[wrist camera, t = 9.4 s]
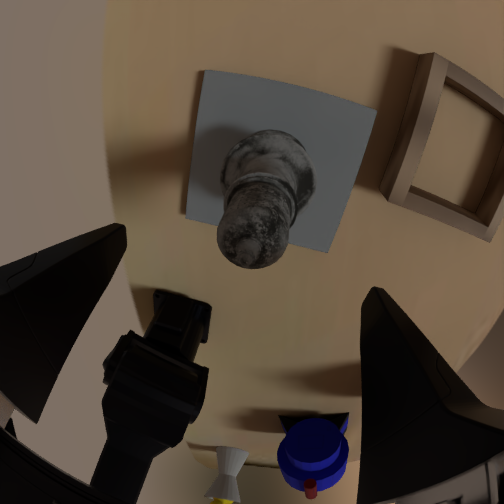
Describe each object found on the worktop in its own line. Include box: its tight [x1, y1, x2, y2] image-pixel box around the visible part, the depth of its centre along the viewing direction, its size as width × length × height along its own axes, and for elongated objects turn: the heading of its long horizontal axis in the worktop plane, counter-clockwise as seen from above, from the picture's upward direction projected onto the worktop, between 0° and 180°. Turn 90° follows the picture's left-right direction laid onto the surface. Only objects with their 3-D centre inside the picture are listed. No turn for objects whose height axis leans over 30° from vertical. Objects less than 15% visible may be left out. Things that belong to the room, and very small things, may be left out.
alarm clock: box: [277, 412, 349, 499], centre depth 37 cm, size 12×12×15 cm
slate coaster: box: [186, 70, 377, 253], centre depth 20 cm, size 12×12×1 cm
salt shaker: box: [217, 130, 317, 269], centre depth 15 cm, size 6×6×12 cm
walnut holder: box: [379, 52, 504, 243], centre depth 16 cm, size 11×11×2 cm
